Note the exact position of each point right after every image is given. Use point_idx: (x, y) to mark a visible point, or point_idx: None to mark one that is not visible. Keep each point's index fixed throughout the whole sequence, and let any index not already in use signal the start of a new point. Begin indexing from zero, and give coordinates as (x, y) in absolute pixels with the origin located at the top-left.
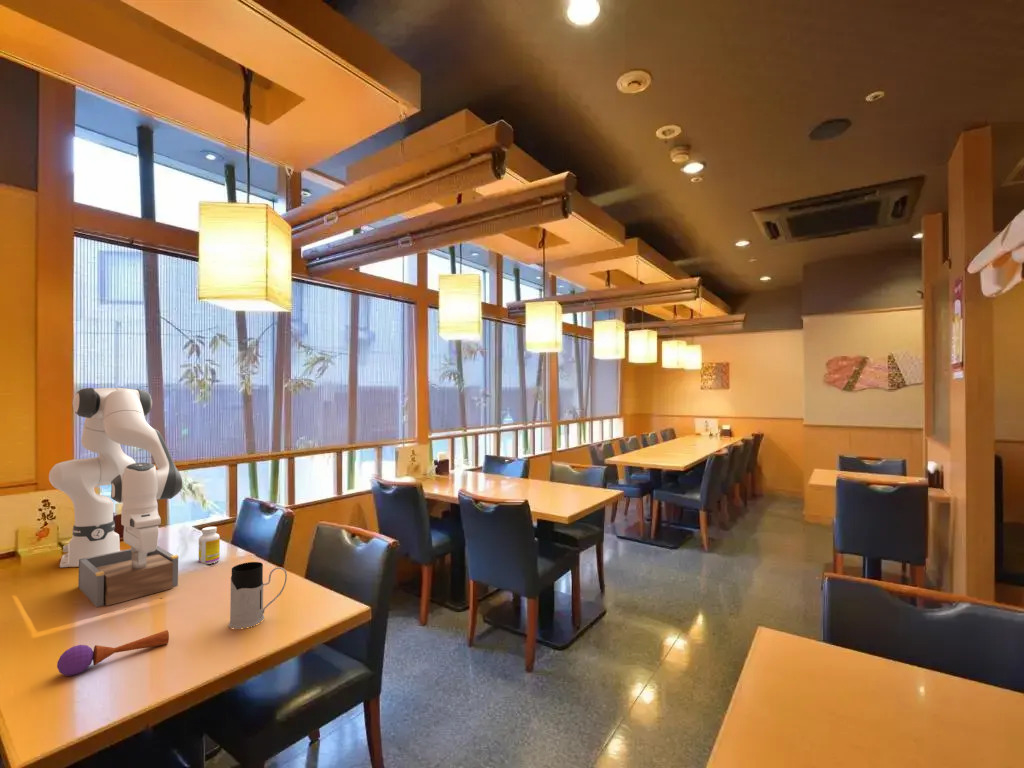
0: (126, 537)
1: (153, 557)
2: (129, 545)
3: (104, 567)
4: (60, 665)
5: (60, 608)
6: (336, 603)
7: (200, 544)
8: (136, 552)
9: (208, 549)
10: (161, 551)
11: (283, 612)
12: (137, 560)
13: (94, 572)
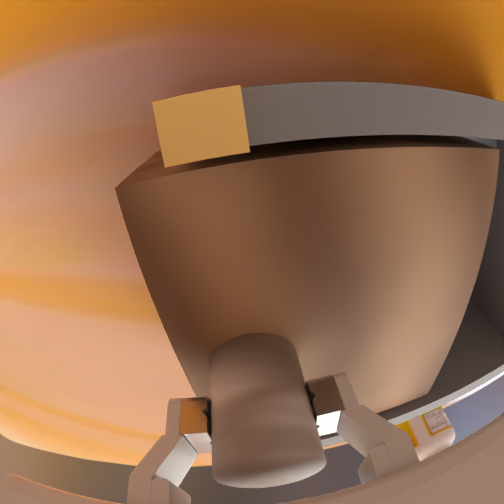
0: (502, 482)
1: (398, 390)
2: (390, 480)
3: (465, 188)
4: None
5: (364, 5)
6: (24, 440)
7: (431, 428)
8: (243, 470)
9: (405, 430)
10: (427, 406)
11: (4, 410)
12: (199, 417)
13: (345, 89)
